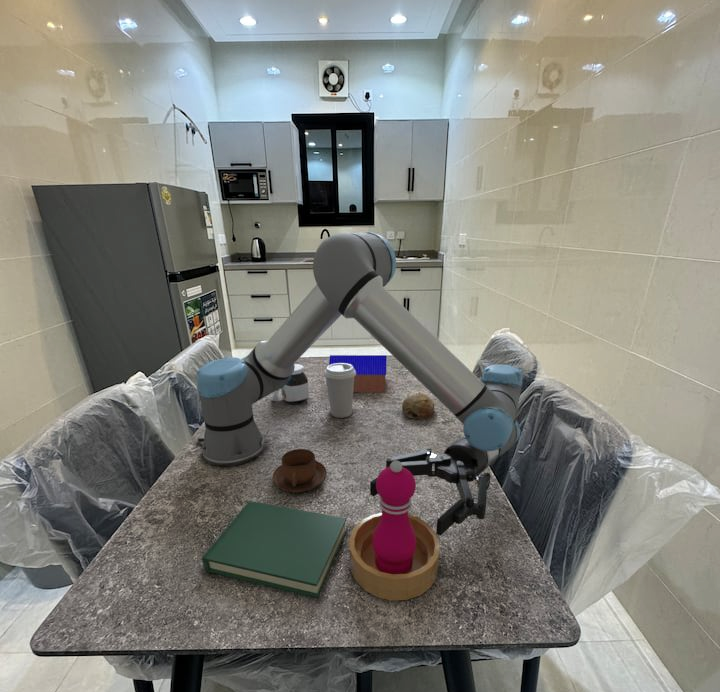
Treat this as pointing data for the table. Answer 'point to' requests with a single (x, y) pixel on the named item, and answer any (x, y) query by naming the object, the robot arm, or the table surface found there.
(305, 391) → the spread jar
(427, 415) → the bread roll
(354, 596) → the table surface
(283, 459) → the cup and saucer
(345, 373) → the coffee cup
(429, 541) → the bowl
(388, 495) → the pepper mill
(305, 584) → the book
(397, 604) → the table surface
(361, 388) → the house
